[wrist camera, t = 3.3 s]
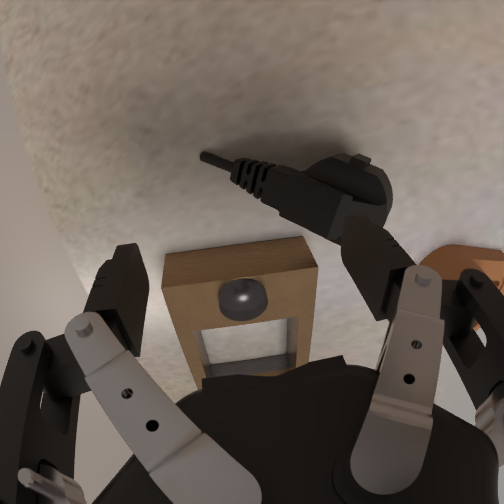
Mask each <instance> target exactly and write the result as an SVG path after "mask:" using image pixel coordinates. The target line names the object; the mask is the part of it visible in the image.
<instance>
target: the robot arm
mask: <svg viewBox="0 0 504 504" xmlns="http://www.w3.org/2000/svg"><path fill="white" fill-rule="evenodd" d="M341 257H342V261H343V264H344V266H345V267H346V269H347V271H348V272H349V274H350V276H351V277H352V279H353V281H354V283H355V284H356V286H357V288H358V289H359V291H360V293H361V295H362V296H363V298H364V300H365V302H366V303H367V305H368V307H369V309H370V311H371V312H372V314H373V316H374V318H375V320H376V321H380V320H384V319H388V320H389V325H388V328H387V332H386V335H385V339H384V342H383V345H382V349H381V352H380V355H379V358H378V362H377V365H376V368H375V370H374V369H371V368H367V367H364V366H359V365H346V363H345V360H344V358H343V355H340V356H336V357H331V358H327V359H322V360H317V361H312V362H309V363H306V364H304V365H302V366H299V367H297V368H295V369H293V370H290V371H288V372H285V373H283V374H281V375H278V376H255V375H240V374H235V375H227V376H219V377H211V378H202V389H200V390H197V391H195V392H193V393H190V394H188V395H187V396H185V397H183V398H182V399H181V400H179V401H178V402H177V403H174V402H173V401H172V400H171V399H170V398H169V397H168V396H167V395H166V393H165V392H164V391H163V390H162V389H161V388H160V387H159V386H158V384H157V383H156V382H155V381H154V380H153V379H152V378H151V376H150V375H149V374H148V373H147V372H146V370H145V369H144V368H143V367H142V366H141V364H140V363H139V362H138V361H137V360H136V358H135V357H140V351H141V343H142V335H143V328H144V321H145V314H146V307H147V301H148V295H149V280H148V275H147V272H146V269H145V266H144V263H143V260H142V256H141V253H140V250H139V247H138V245H137V244H136V243H131V244H125V245H118V246H117V247H116V250H115V252H114V255H113V258H112V259H111V260H106V261H105V263H104V264H103V265H102V266H101V267H100V268H99V270H98V272H97V275H96V278H95V280H94V283H93V286H92V287H93V288H91V291H90V294H89V297H88V300H87V303H86V306H85V308H84V312H83V313H81V314H79V315H77V316H75V317H74V318H73V319H72V320H71V321H70V322H69V323H68V324H67V326H66V328H65V333H64V334H62V335H59V336H56V337H54V338H51V339H48V340H46V339H45V338H44V336H43V335H42V334H41V333H40V332H38V331H30V332H27V333H25V334H23V335H22V336H20V337H19V338H18V339H17V341H16V342H15V344H14V346H13V348H12V351H11V354H10V357H9V360H8V363H7V366H6V369H5V372H4V376H3V379H2V382H1V386H0V504H86V500H85V498H84V493H83V490H82V489H81V487H80V485H79V484H78V483H77V482H76V481H75V480H74V458H75V443H76V431H77V421H78V411H79V403H80V395H81V394H82V393H85V392H88V391H92V392H93V394H94V395H95V397H96V399H97V400H98V402H99V404H100V405H101V407H102V408H103V410H104V411H105V413H106V414H107V416H108V417H109V419H110V421H111V422H112V423H113V425H114V427H115V428H116V429H117V431H118V432H119V434H120V435H121V437H122V438H123V439H124V441H125V442H126V444H127V445H128V446H129V448H130V449H131V450H132V452H133V453H134V454H133V455H132V456H131V457H130V459H129V460H128V461H127V462H126V463H125V465H124V466H123V467H122V468H121V470H120V471H119V472H118V473H117V474H116V475H115V477H114V478H113V479H112V480H111V481H110V483H109V484H108V485H107V486H106V487H105V489H104V490H103V491H102V492H101V494H100V495H99V496H98V497H97V498H96V499H95V500H94V502H93V503H92V504H499V501H498V471H499V467H501V466H502V465H504V295H503V294H502V293H501V292H500V290H499V289H498V288H497V287H496V285H495V284H494V283H493V282H492V280H491V279H490V278H489V277H488V276H487V275H486V274H485V273H483V272H481V271H479V270H477V269H472V268H468V269H464V270H463V271H462V272H461V274H460V277H459V279H458V280H445V279H441V277H440V275H439V274H438V273H437V272H436V271H435V270H433V269H432V268H429V267H427V266H423V265H416V264H415V262H414V261H413V260H412V259H411V258H410V256H409V255H408V254H407V253H406V252H405V250H404V249H403V248H402V247H401V246H399V243H398V242H397V241H396V240H394V238H393V237H392V235H391V234H390V233H389V232H388V231H387V230H385V229H384V228H382V227H380V226H378V225H374V224H373V223H372V222H371V221H370V220H369V218H368V217H367V216H366V215H365V214H358V215H349V216H346V217H345V218H344V224H343V234H342V243H341ZM476 321H477V322H478V324H479V325H480V327H481V328H482V329H483V331H484V333H485V335H486V339H487V343H486V347H484V345H483V343H482V342H481V340H480V338H479V337H478V335H477V334H476V332H475V330H474V329H473V327H474V325H475V323H476ZM442 345H444V347H445V349H446V351H447V353H448V354H449V356H450V358H451V360H452V362H453V364H454V366H455V367H456V369H457V372H458V374H459V375H460V377H461V380H462V381H463V384H464V385H465V388H466V390H467V392H468V394H469V396H470V398H471V400H472V402H473V404H474V406H475V409H476V411H477V412H476V415H475V422H476V425H475V426H473V425H472V424H470V423H468V422H466V421H464V420H463V419H461V418H459V417H457V416H455V415H453V414H452V413H450V412H448V411H446V410H445V409H443V408H441V407H439V406H437V405H436V404H434V398H435V392H436V387H437V380H438V374H439V368H440V361H441V353H442ZM42 392H44V393H43V398H42V403H41V409H40V402H41V396H42Z"/></svg>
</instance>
